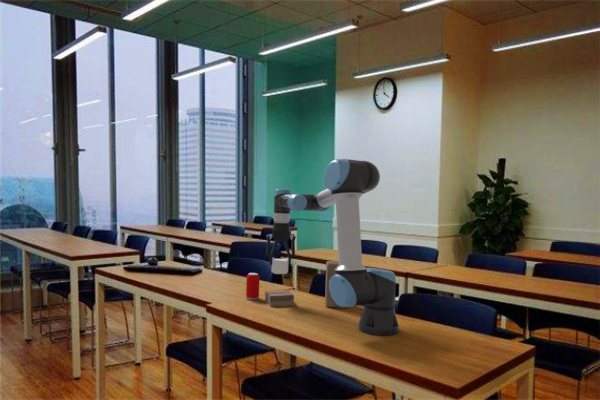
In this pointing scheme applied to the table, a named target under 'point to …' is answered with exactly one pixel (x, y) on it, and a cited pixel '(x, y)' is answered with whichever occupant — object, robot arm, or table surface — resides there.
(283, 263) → the cream cube
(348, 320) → the table surface
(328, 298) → the wooden block
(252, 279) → the beverage can
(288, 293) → the walnut block
